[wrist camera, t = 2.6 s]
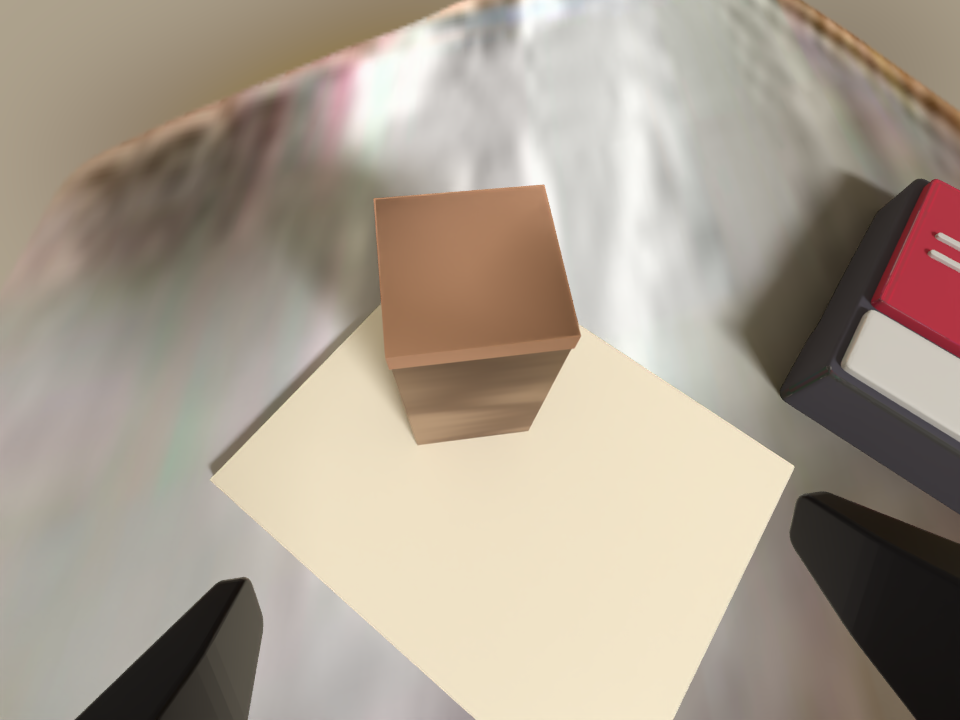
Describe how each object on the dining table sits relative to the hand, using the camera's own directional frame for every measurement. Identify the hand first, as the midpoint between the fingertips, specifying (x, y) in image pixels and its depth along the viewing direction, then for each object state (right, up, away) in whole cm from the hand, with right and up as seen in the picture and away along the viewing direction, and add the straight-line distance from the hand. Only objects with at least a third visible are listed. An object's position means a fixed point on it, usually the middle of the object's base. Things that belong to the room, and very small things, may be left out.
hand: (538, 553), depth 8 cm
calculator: (+23, +3, +18) cm, 29 cm away
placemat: (0, -2, +14) cm, 14 cm away
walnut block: (-2, +2, +15) cm, 15 cm away
